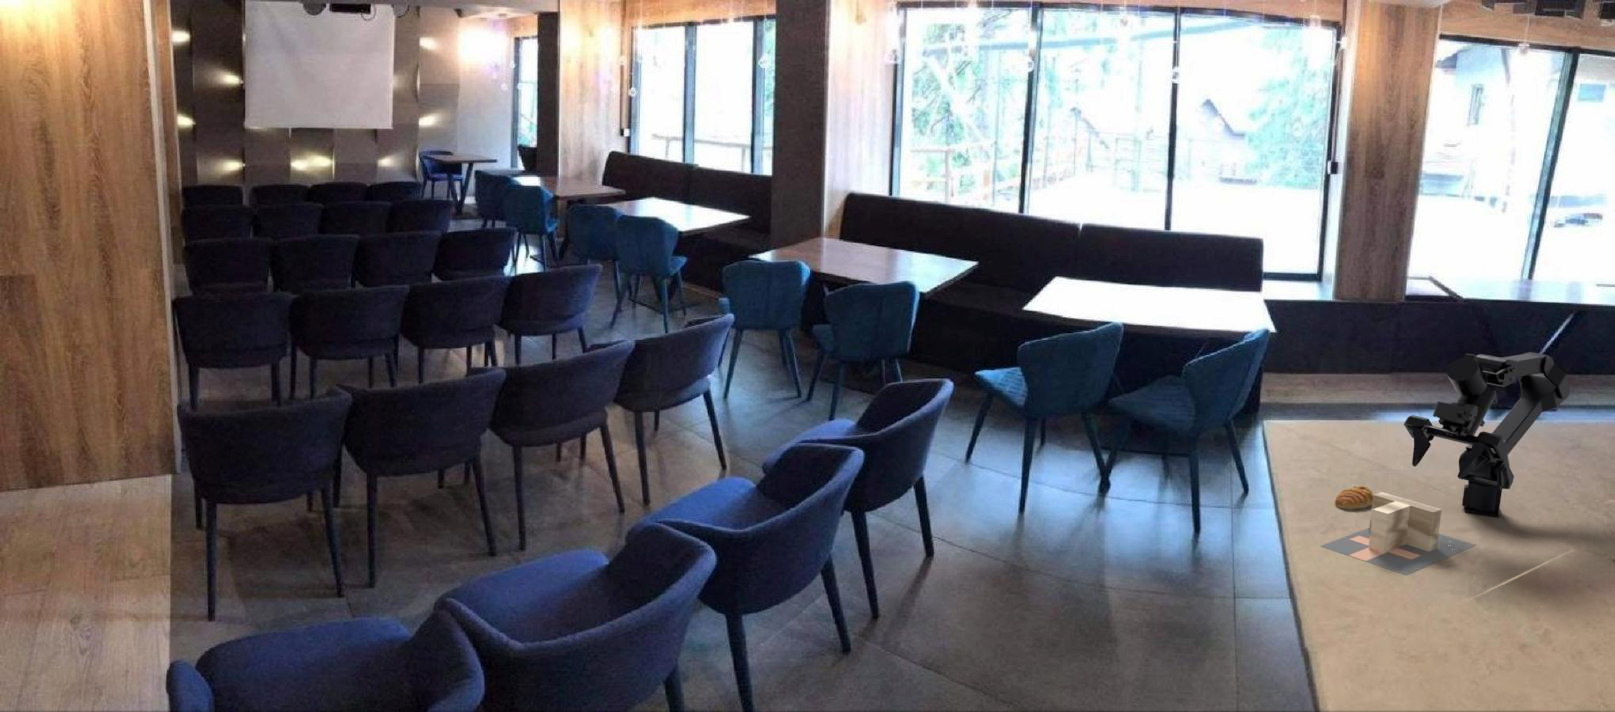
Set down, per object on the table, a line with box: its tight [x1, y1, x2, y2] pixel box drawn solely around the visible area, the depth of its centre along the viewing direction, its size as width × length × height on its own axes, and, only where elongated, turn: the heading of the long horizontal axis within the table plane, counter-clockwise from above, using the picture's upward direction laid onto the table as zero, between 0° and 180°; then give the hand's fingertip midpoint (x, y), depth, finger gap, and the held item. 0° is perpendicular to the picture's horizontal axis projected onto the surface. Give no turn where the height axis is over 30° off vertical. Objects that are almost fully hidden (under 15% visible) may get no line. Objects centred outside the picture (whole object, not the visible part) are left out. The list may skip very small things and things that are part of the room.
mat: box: [1320, 526, 1476, 576], centre depth 227 cm, size 26×17×1 cm, turn 125°
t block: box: [1368, 491, 1443, 553], centre depth 226 cm, size 11×12×8 cm
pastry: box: [1334, 485, 1374, 511], centre depth 250 cm, size 9×7×4 cm
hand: (1435, 471), depth 233 cm, fingers open, 9 cm apart
